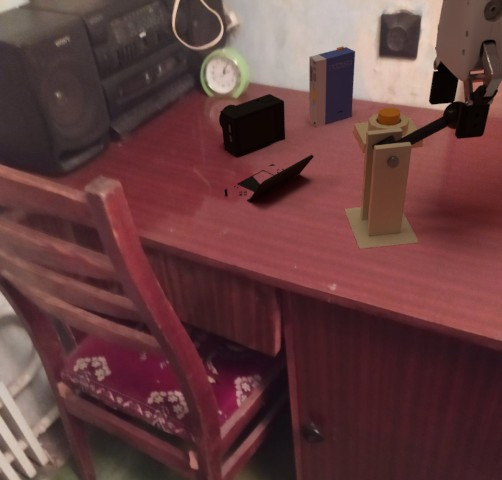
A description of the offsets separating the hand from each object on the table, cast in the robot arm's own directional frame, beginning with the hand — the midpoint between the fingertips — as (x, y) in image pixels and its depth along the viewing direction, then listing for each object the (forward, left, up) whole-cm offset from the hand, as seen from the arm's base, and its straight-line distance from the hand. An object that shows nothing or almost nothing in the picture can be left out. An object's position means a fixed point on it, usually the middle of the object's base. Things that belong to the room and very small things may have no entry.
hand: (454, 118), depth 71 cm
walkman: (+8, -37, -16) cm, 41 cm away
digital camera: (+23, -31, -16) cm, 42 cm away
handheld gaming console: (+22, -14, -16) cm, 30 cm away
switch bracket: (+8, 0, -15) cm, 17 cm away
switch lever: (+3, 0, -3) cm, 4 cm away
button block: (0, -27, -15) cm, 31 cm away
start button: (0, -27, -12) cm, 30 cm away
